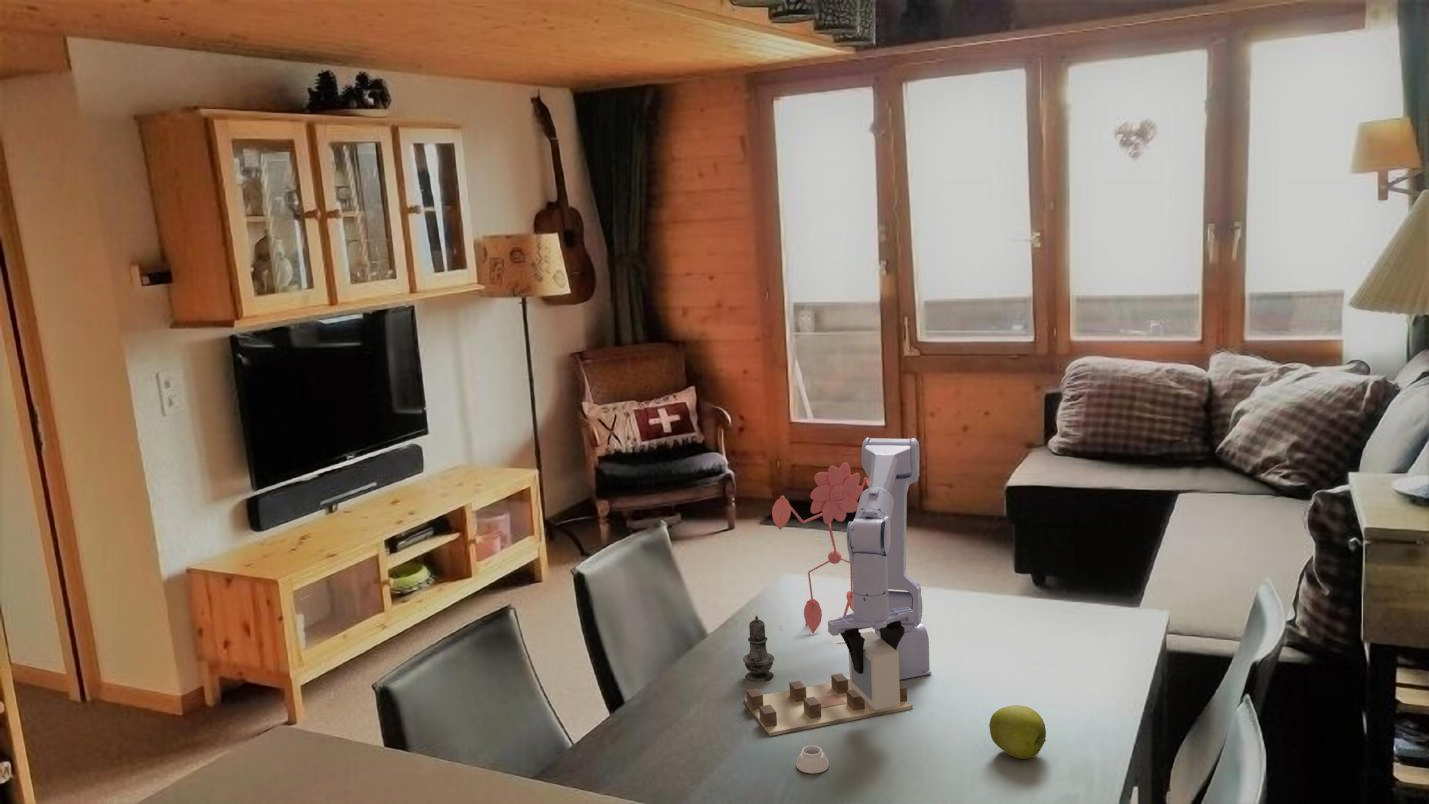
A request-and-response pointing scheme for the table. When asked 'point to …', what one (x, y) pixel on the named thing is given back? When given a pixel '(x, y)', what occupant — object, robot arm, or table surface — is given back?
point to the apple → (1018, 731)
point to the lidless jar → (812, 760)
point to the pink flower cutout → (826, 520)
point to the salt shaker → (758, 654)
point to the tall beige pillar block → (877, 673)
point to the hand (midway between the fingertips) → (872, 668)
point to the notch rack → (814, 706)
